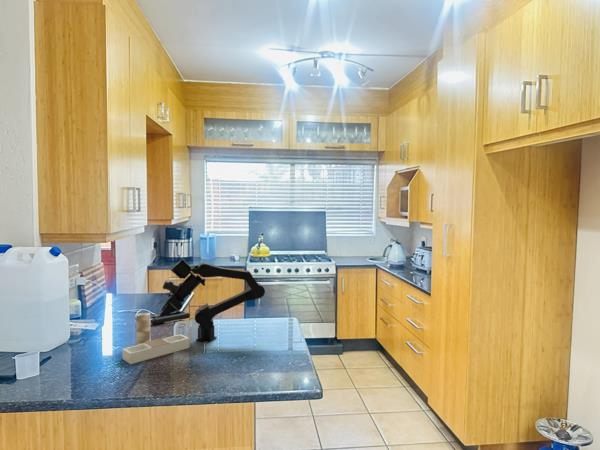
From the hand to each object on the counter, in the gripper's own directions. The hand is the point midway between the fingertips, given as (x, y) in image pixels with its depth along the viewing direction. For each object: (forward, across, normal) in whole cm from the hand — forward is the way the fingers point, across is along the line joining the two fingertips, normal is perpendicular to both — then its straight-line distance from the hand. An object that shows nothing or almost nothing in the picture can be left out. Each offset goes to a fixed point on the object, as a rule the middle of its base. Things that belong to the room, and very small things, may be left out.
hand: (161, 313), depth 168 cm
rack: (+10, +11, +8) cm, 17 cm away
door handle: (+10, -38, +10) cm, 40 cm away
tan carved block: (+14, 0, +4) cm, 15 cm away
